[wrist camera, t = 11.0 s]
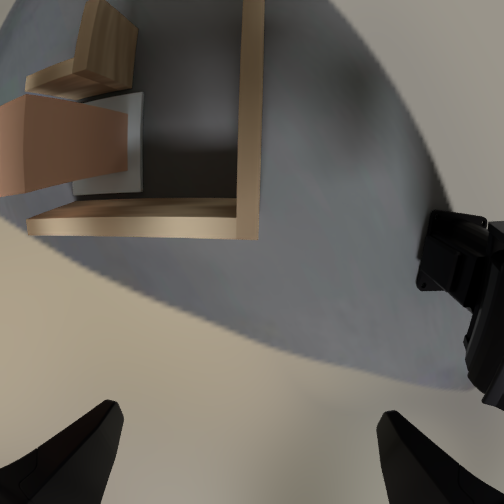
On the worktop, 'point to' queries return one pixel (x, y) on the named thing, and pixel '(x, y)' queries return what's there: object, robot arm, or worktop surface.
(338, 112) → the worktop surface
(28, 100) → the peg
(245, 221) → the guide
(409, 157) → the worktop surface
